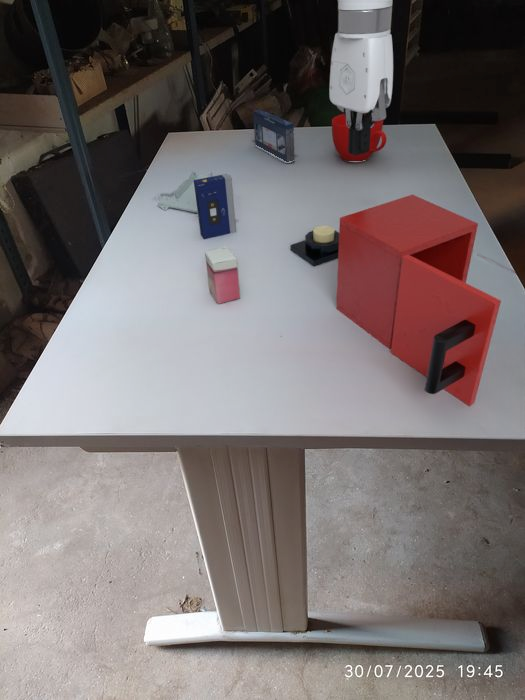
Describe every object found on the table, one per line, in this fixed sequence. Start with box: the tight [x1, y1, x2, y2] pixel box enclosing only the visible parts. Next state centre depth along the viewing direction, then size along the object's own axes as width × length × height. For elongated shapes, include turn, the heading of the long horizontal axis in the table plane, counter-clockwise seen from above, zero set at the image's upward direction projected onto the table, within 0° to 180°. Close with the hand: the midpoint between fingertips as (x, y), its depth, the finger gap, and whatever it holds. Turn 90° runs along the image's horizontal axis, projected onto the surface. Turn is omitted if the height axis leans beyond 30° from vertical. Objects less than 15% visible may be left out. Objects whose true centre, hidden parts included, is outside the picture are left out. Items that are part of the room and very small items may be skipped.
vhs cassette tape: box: [252, 109, 296, 162], centre depth 147 cm, size 18×3×10 cm, turn 27°
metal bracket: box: [157, 170, 214, 218], centre depth 125 cm, size 14×6×15 cm
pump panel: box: [290, 229, 339, 267], centre depth 103 cm, size 10×8×3 cm
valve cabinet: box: [335, 194, 479, 350], centre depth 81 cm, size 13×14×16 cm
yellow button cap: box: [312, 225, 335, 243], centre depth 102 cm, size 4×4×2 cm
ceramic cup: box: [331, 113, 387, 162], centre depth 139 cm, size 13×17×10 cm
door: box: [390, 254, 502, 407], centre depth 68 cm, size 7×14×16 cm, turn 34°
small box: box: [204, 245, 241, 305], centre depth 91 cm, size 5×4×8 cm
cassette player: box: [194, 173, 237, 240], centre depth 109 cm, size 7×2×12 cm, turn 112°
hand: (358, 152), depth 88 cm, fingers closed
